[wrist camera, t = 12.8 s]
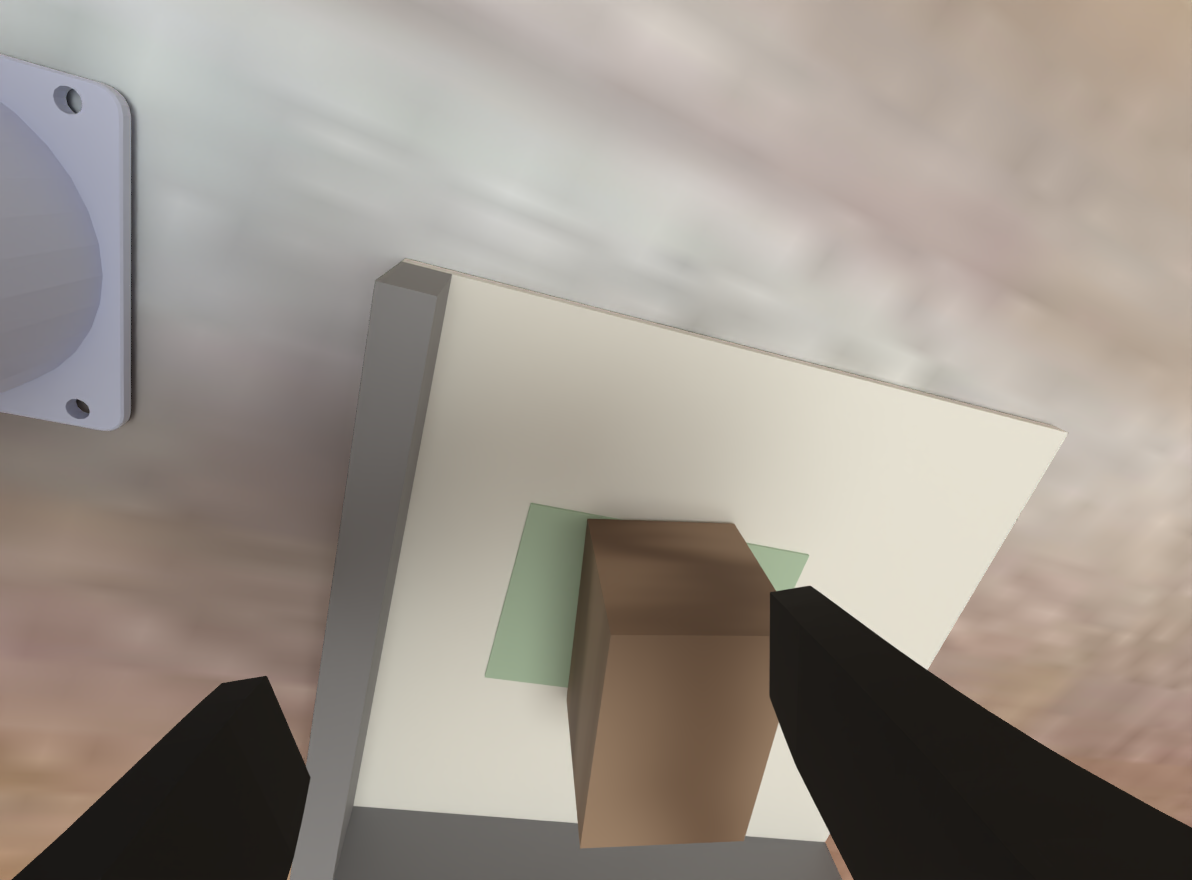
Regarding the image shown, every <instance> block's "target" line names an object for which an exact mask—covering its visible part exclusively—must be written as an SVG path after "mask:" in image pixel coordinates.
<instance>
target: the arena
mask: <svg viewBox="0 0 1192 880" xmlns="http://www.w3.org/2000/svg"><path fill="white" fill-rule="evenodd" d="M1067 434H1068V433H1067V432H1065V431H1063V430H1061V429H1059V428H1057V427H1055V426H1052V425H1048V424H1045V423H1041V422H1037V421H1033V420H1029V419H1025V418H1021V417H1017V416H1014V415H1010V414H1006V413H1002V412H998V411H994V410H990V409H987V408H983V407H979V406H975V405H971V404H967V403H963V402H959V401H956V400H952V399H948V398H944V397H940V396H936V395H932V394H929V393H925V392H921V391H917V390H913V389H909V388H905V387H902V386H898V385H894V384H890V383H886V382H882V381H878V380H874V379H871V378H867V377H863V376H859V375H855V374H851V373H847V372H844V371H840V370H836V369H832V368H828V367H824V366H820V365H816V364H813V363H809V362H805V361H801V360H797V359H793V358H789V357H786V356H782V355H778V354H774V353H770V352H766V351H762V350H759V349H755V348H751V347H747V346H743V345H739V344H735V343H731V342H728V341H724V340H720V339H716V338H712V337H708V336H704V335H701V334H697V333H693V332H689V331H685V330H681V329H677V328H673V327H670V326H666V325H662V324H658V323H654V322H650V321H646V320H643V319H639V318H635V317H631V316H627V315H623V314H619V313H615V312H612V311H608V310H604V309H600V308H596V307H592V306H588V305H585V304H581V303H577V302H573V301H569V300H565V299H561V298H558V297H554V296H550V295H546V294H542V293H538V292H534V291H530V290H527V289H523V288H519V287H515V286H511V285H507V284H503V283H500V282H496V281H492V280H488V279H484V278H480V277H476V276H472V275H469V274H465V273H461V272H457V271H453V270H449V269H445V268H442V267H438V266H434V265H430V264H426V263H422V262H418V261H414V260H411V259H407V258H406V259H404V260H403V261H401V262H400V263H399V264H397V265H396V266H395V267H393V268H392V269H391V270H389V271H388V272H386V273H385V274H384V275H382V276H381V277H380V278H378V279H377V280H376V281H375V285H374V292H373V299H372V306H371V313H370V320H369V327H368V334H367V341H366V348H365V355H364V362H363V369H362V376H361V383H360V390H359V397H358V404H357V411H356V418H355V426H354V433H353V440H352V447H351V454H350V461H349V468H348V475H347V482H346V489H345V496H344V503H343V510H342V517H341V524H340V531H339V538H338V545H337V552H336V559H335V566H334V573H333V580H332V587H331V594H330V602H329V609H328V616H327V623H326V630H325V637H324V644H323V651H322V658H321V665H320V672H319V679H318V686H317V693H316V700H315V707H314V714H313V721H312V728H311V735H310V742H309V749H308V756H307V763H306V768H307V770H308V773H309V775H310V777H311V778H310V784H309V789H308V794H307V799H306V804H305V809H304V814H303V819H302V824H301V828H300V832H299V837H298V841H297V846H296V850H295V854H294V858H293V862H292V869H291V876H290V880H842V878H841V876H840V874H839V872H838V870H837V867H836V865H835V863H834V861H833V859H832V857H831V854H830V852H829V850H828V848H827V846H826V844H825V841H826V839H827V838H828V836H829V834H830V832H829V830H828V829H827V827H826V825H825V823H824V821H823V819H822V817H821V815H820V813H819V811H818V809H817V807H816V805H815V803H814V801H813V799H812V797H811V795H810V793H809V791H808V789H807V787H806V785H805V783H804V781H803V779H802V777H801V775H800V773H799V771H798V769H797V767H796V765H795V763H794V760H793V758H792V755H791V753H790V750H789V747H788V745H787V742H786V740H785V737H784V735H783V732H782V729H781V727H780V724H779V723H778V727H777V730H776V734H775V737H774V740H773V744H772V747H771V751H770V754H769V757H768V761H767V764H766V768H765V771H764V774H763V778H762V781H761V785H760V788H759V791H758V795H757V798H756V802H755V805H754V808H753V812H752V815H751V819H750V822H749V825H748V829H747V832H746V836H745V839H744V841H735V842H713V843H691V844H668V845H646V846H624V847H601V848H580V843H579V832H578V821H577V810H576V799H575V788H574V777H573V766H572V755H571V744H570V733H569V722H568V711H567V691H568V682H569V674H570V665H571V656H572V648H573V639H574V630H575V622H576V613H577V605H578V596H579V587H580V579H581V570H582V561H583V553H584V544H585V535H586V527H587V519H615V520H644V521H672V522H701V523H730V524H735V525H736V527H737V529H738V530H739V532H740V534H741V535H742V537H743V538H744V540H745V542H746V543H747V545H748V546H749V548H750V550H751V551H752V553H753V555H754V556H755V558H756V559H757V561H758V563H759V564H760V566H761V567H762V569H763V571H764V572H765V574H766V575H767V577H768V579H769V580H770V582H771V584H772V585H773V587H774V588H775V590H776V591H780V590H786V589H792V588H798V587H804V586H812V587H813V588H815V589H816V590H817V591H819V592H820V593H822V594H823V595H824V596H826V597H827V598H828V599H830V600H831V601H833V602H834V603H835V604H837V605H838V606H839V607H841V608H842V609H843V610H845V611H846V612H847V613H849V614H850V615H851V616H853V617H854V618H856V619H857V620H858V621H860V622H861V623H862V624H864V625H865V626H866V627H868V628H869V629H871V630H872V631H873V632H875V633H876V634H877V635H879V636H880V637H882V638H883V639H884V640H886V641H887V642H888V643H890V644H891V645H893V646H894V647H895V648H897V649H898V650H900V651H901V652H902V653H904V654H905V655H907V656H908V657H909V658H911V659H912V660H914V661H915V662H916V663H918V664H919V665H921V666H922V667H924V668H925V669H927V670H928V668H929V666H930V665H931V663H932V661H933V659H934V658H935V656H936V654H937V653H938V651H939V649H940V648H941V646H942V644H943V643H944V641H945V639H946V638H947V636H948V634H949V633H950V631H951V629H952V628H953V626H954V624H955V622H956V621H957V619H958V617H959V616H960V614H961V612H962V611H963V609H964V607H965V606H966V604H967V602H968V601H969V599H970V597H971V596H972V594H973V592H974V591H975V589H976V587H977V585H978V584H979V582H980V580H981V579H982V577H983V575H984V574H985V572H986V570H987V569H988V567H989V565H990V564H991V562H992V560H993V559H994V557H995V555H996V554H997V552H998V550H999V549H1000V547H1001V545H1002V543H1003V542H1004V540H1005V538H1006V537H1007V535H1008V533H1009V532H1010V530H1011V528H1012V527H1013V525H1014V523H1015V522H1016V520H1017V518H1018V517H1019V515H1020V513H1021V512H1022V510H1023V508H1024V506H1025V505H1026V503H1027V501H1028V500H1029V498H1030V496H1031V495H1032V493H1033V491H1034V490H1035V488H1036V486H1037V485H1038V483H1039V481H1040V480H1041V478H1042V476H1043V475H1044V473H1045V471H1046V469H1047V468H1048V466H1049V464H1050V463H1051V461H1052V459H1053V458H1054V456H1055V454H1056V453H1057V451H1058V449H1059V448H1060V446H1061V444H1062V443H1063V441H1064V439H1065V438H1066V436H1067Z"/></svg>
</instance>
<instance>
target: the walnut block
mask: <svg viewBox="0 0 1192 880" xmlns="http://www.w3.org/2000/svg"><path fill="white" fill-rule="evenodd" d="M774 591H776V590H775V588H774V587H773V585H772V584H771V582H770V580H769V579H768V577H767V575H766V574H765V572H764V571H763V569H762V567H761V566H760V564H759V563H758V561H757V559H756V558H755V556H754V555H753V553H752V551H751V550H750V548H749V546H748V545H747V543H746V542H745V540H744V538H743V537H742V535H741V534H740V532H739V530H738V529H737V527H736V525H735V524H730V523H701V522H672V521H644V520H615V519H587V527H586V535H585V544H584V553H583V561H582V570H581V579H580V587H579V596H578V605H577V613H576V622H575V630H574V639H573V648H572V656H571V665H570V674H569V682H568V691H567V711H568V722H569V733H570V744H571V755H572V766H573V777H574V788H575V799H576V810H577V821H578V832H579V843H580V848H601V847H624V846H646V845H668V844H691V843H713V842H735V841H744V839H745V836H746V832H747V829H748V825H749V822H750V819H751V815H752V812H753V808H754V805H755V802H756V798H757V795H758V791H759V788H760V785H761V781H762V778H763V774H764V771H765V768H766V764H767V761H768V757H769V754H770V751H771V747H772V744H773V740H774V737H775V734H776V730H777V727H778V723H779V721H778V719H777V716H776V713H775V711H774V708H773V705H772V702H771V700H770V697H769V666H770V592H774Z"/></svg>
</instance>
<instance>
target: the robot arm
mask: <svg viewBox="0 0 1192 880" xmlns="http://www.w3.org/2000/svg"><path fill="white" fill-rule="evenodd" d="M71 89H74V90H75V91H76V92H77V93H78V94H79V96H80V98H81V101H82V108H81V111H80V112H78V113H77V114H76V113H74V112H73V111H72V110H71V109H70V108H69V106H68V104H67V101H66V96H67V92H68V91H69V90H71ZM76 399H78V400H81V401H83V402H84V403H85V404H86V405H87V406H88V407H89V410H90V413H86V412H83V411H82V410H81V409H80V408H79V407H78V406H77V403H76ZM0 412H2V413H7V414H13V415H18V416H24V417H29V418H35V419H40V420H46V421H51V422H57V423H62V424H67V425H73V426H78V427H84V428H89V429H95V430H100V431H112V430H115V429H117V428H119V427H121V426H122V425H124V424H125V423H126V422H127V421H128V420H129V418H130V414H131V114H130V108H129V105H128V104H127V102H126V100H125V98H124V97H123V96H122V95H121V94H120V93H119V92H118V91H117V90H116V89H115V88H113V87H111V86H109V85H106V84H104V83H101V82H97V81H94V80H90V79H87V78H83V77H80V76H76V75H73V74H69V73H66V72H62V71H59V70H55V69H52V68H48V67H45V66H42V65H38V64H35V63H31V62H28V61H24V60H21V59H17V58H14V57H10V56H7V55H3V54H0ZM769 697H770V700H771V702H772V705H773V708H774V711H775V713H776V716H777V719H778V721H779V724H780V727H781V729H782V732H783V735H784V737H785V740H786V742H787V745H788V747H789V750H790V753H791V755H792V758H793V760H794V763H795V765H796V767H797V769H798V771H799V773H800V775H801V777H802V779H803V781H804V783H805V785H806V787H807V789H808V791H809V793H810V795H811V797H812V799H813V801H814V803H815V805H816V807H817V809H818V811H819V813H820V815H821V817H822V819H823V821H824V823H825V825H826V827H827V829H828V830H829V832H830V834H831V836H832V838H833V840H834V842H835V844H836V846H837V848H838V850H839V852H840V854H841V856H842V858H843V860H844V862H845V864H846V865H847V867H848V869H849V871H850V873H851V875H852V877H853V879H854V880H1192V828H1191V827H1189V826H1188V825H1186V824H1184V823H1182V822H1180V821H1178V820H1176V819H1174V818H1172V817H1170V816H1168V815H1166V814H1165V813H1163V812H1161V811H1159V810H1157V809H1155V808H1153V807H1151V806H1150V805H1148V804H1146V803H1144V802H1142V801H1141V800H1139V799H1137V798H1135V797H1133V796H1132V795H1130V794H1128V793H1126V792H1124V791H1123V790H1121V789H1119V788H1117V787H1115V786H1114V785H1112V784H1110V783H1108V782H1106V781H1105V780H1103V779H1101V778H1099V777H1098V776H1096V775H1094V774H1092V773H1090V772H1089V771H1087V770H1085V769H1083V768H1081V767H1080V766H1078V765H1076V764H1074V763H1073V762H1071V761H1069V760H1068V759H1066V758H1064V757H1062V756H1061V755H1059V754H1057V753H1056V752H1054V751H1052V750H1051V749H1049V748H1047V747H1046V746H1044V745H1042V744H1041V743H1039V742H1037V741H1036V740H1034V739H1033V738H1031V737H1029V736H1028V735H1026V734H1025V733H1023V732H1021V731H1020V730H1018V729H1017V728H1015V727H1013V726H1012V725H1010V724H1009V723H1007V722H1005V721H1004V720H1002V719H1001V718H999V717H997V716H996V715H994V714H993V713H991V712H989V711H988V710H986V709H985V708H983V707H982V706H980V705H979V704H977V703H976V702H974V701H973V700H971V699H969V698H968V697H966V696H965V695H963V694H962V693H960V692H959V691H957V690H956V689H954V688H953V687H951V686H950V685H948V684H947V683H945V682H944V681H943V680H941V679H940V678H938V677H937V676H935V675H934V674H932V673H931V672H929V671H928V670H927V669H925V668H924V667H922V666H921V665H919V664H918V663H916V662H915V661H914V660H912V659H911V658H909V657H908V656H907V655H905V654H904V653H902V652H901V651H900V650H898V649H897V648H895V647H894V646H893V645H891V644H890V643H888V642H887V641H886V640H884V639H883V638H882V637H880V636H879V635H877V634H876V633H875V632H873V631H872V630H871V629H869V628H868V627H866V626H865V625H864V624H862V623H861V622H860V621H858V620H857V619H856V618H854V617H853V616H851V615H850V614H849V613H847V612H846V611H845V610H843V609H842V608H841V607H839V606H838V605H837V604H835V603H834V602H833V601H831V600H830V599H828V598H827V597H826V596H824V595H823V594H822V593H820V592H819V591H817V590H816V589H815V588H813V587H812V586H804V587H798V588H792V589H786V590H780V591H774V592H770V666H769ZM310 778H311V777H310V775H309V773H308V770H307V768H306V766H305V763H304V761H303V759H302V756H301V754H300V752H299V749H298V747H297V745H296V742H295V740H294V738H293V736H292V733H291V731H290V729H289V726H288V724H287V722H286V719H285V717H284V715H283V712H282V710H281V708H280V705H279V703H278V701H277V698H276V696H275V694H274V691H273V689H272V687H271V684H270V682H269V680H268V678H267V676H263V677H257V678H251V679H245V680H238V681H232V682H226V683H222V684H221V685H219V686H218V687H217V688H216V689H215V690H214V691H213V692H211V693H210V694H209V695H208V696H207V697H206V698H205V699H204V700H202V701H201V702H200V703H199V704H198V705H197V706H196V707H195V708H194V709H193V710H192V711H191V712H190V713H188V714H187V715H186V716H185V717H184V718H183V719H182V720H181V721H180V722H179V723H178V724H177V725H176V726H175V727H174V728H173V729H172V730H171V731H170V732H168V733H167V734H166V735H165V736H164V737H163V738H162V739H161V740H160V741H159V742H158V743H157V744H156V745H155V746H154V747H153V748H152V749H151V750H150V751H149V752H148V753H147V754H146V755H145V756H144V757H142V758H141V759H140V760H139V761H138V762H137V763H136V764H135V765H134V766H133V767H132V768H131V769H130V770H129V771H128V772H127V773H126V774H125V775H124V776H123V777H122V778H121V779H119V780H118V781H117V782H116V783H115V784H114V785H113V786H112V787H111V788H110V789H109V790H108V791H107V792H106V793H105V794H104V795H103V796H102V797H101V798H99V799H98V800H97V801H96V802H95V803H94V804H93V805H92V806H91V807H90V808H89V809H88V810H87V811H86V812H85V813H84V814H83V815H82V816H81V817H80V818H78V819H77V820H76V821H75V822H74V823H73V824H72V825H71V826H70V827H69V828H68V829H67V830H66V831H65V832H64V833H63V834H62V835H60V836H59V837H58V838H57V839H56V840H55V841H54V842H53V843H52V844H51V845H50V846H48V847H47V848H46V849H45V850H44V851H43V852H42V853H41V854H40V855H38V856H37V857H36V858H35V859H34V860H33V861H32V862H31V863H30V864H28V865H27V866H26V867H25V868H24V869H23V870H22V871H21V872H20V873H18V874H17V875H16V876H15V877H14V878H13V879H12V880H287V877H288V874H289V871H290V868H291V865H292V862H293V858H294V854H295V850H296V846H297V841H298V837H299V832H300V828H301V824H302V819H303V814H304V809H305V804H306V799H307V794H308V789H309V784H310Z"/></svg>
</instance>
